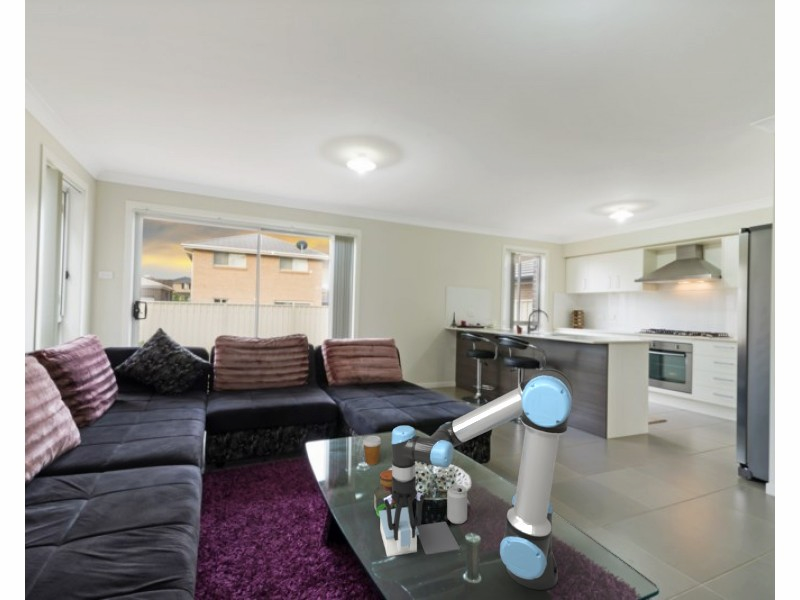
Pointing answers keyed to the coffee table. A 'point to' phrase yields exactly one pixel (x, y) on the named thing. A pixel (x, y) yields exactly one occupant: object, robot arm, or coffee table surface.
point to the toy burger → (384, 491)
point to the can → (457, 504)
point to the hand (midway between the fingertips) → (404, 547)
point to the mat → (437, 538)
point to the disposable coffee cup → (372, 449)
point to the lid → (403, 526)
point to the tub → (392, 545)
